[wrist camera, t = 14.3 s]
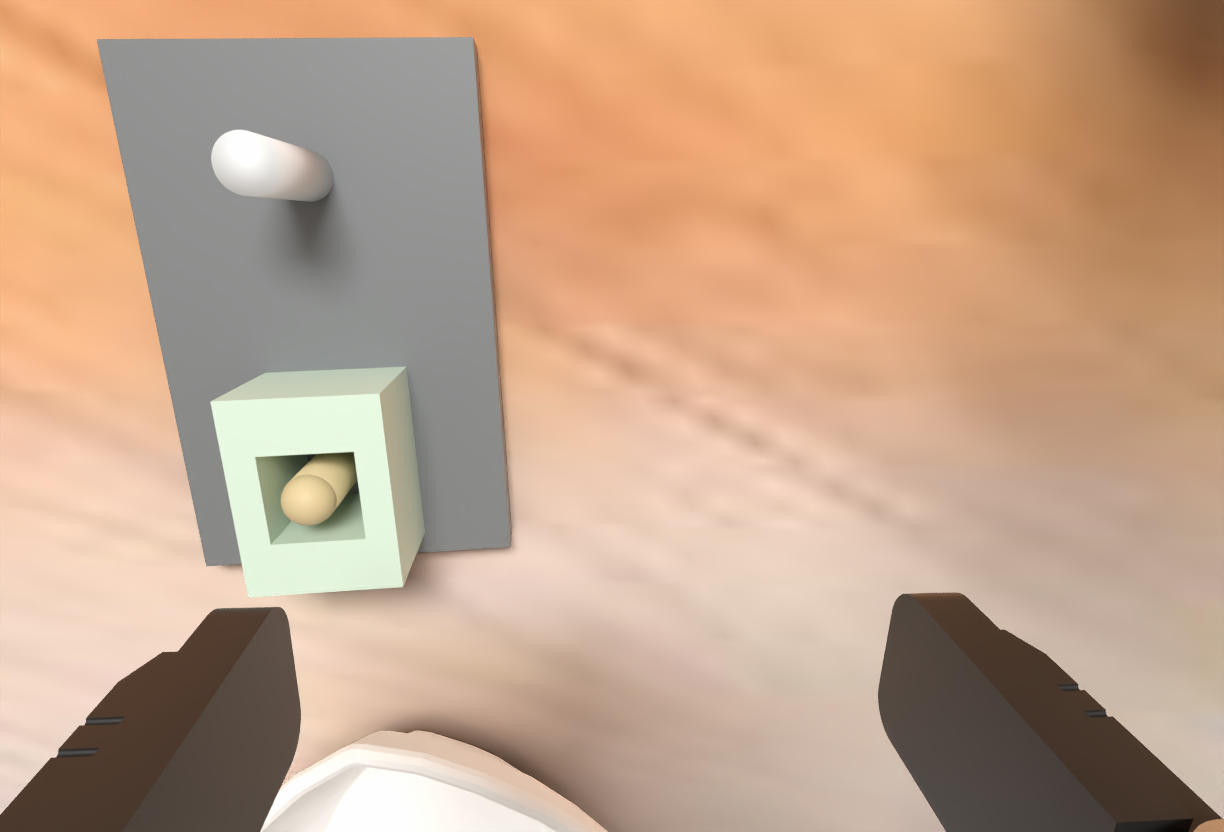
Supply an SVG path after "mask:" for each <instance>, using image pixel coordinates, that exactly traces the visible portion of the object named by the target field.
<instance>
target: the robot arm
mask: <svg viewBox="0 0 1224 832" xmlns="http://www.w3.org/2000/svg"><path fill="white" fill-rule="evenodd" d="M878 702H879V710H880V715H881V719H882V723H883V726H884V729H885V731H886V734H887V736H888V738H889V740H890V741H891V743H892V745H893V746H894V748H895V749H896V751H897V753H898V754H899V756H900V758H901V759H902V761H903V762H904V764H905V766H906V767H907V769H908V770H909V772H910V774H911V775H912V777H913V779H914V780H915V782H916V783H917V785H918V787H919V788H920V790H921V791H922V793H923V795H924V796H925V798H926V800H927V801H928V803H929V804H930V806H931V808H932V809H933V811H934V813H935V814H936V816H937V817H938V819H939V821H940V822H941V824H942V825H943V827H944V829H945V830H946V832H1224V819H1222V818H1221V817H1220V816H1219V815H1218V814H1217V813H1216V812H1215V811H1213V810H1212V809H1211V808H1210V807H1209V806H1208V805H1207V804H1206V803H1205V802H1204V801H1203V800H1202V799H1201V798H1200V797H1198V796H1197V795H1196V794H1195V793H1194V792H1193V791H1192V790H1191V789H1190V788H1189V787H1188V786H1187V785H1186V784H1185V783H1183V782H1182V781H1181V780H1180V779H1179V778H1178V777H1177V776H1176V775H1175V774H1174V773H1173V772H1172V771H1171V770H1170V769H1168V768H1167V767H1166V766H1165V765H1164V764H1163V763H1162V762H1161V761H1160V760H1159V759H1158V758H1157V757H1156V756H1155V755H1153V754H1152V753H1151V752H1150V751H1149V750H1148V749H1147V748H1146V747H1145V746H1144V745H1143V744H1142V743H1141V742H1139V741H1138V740H1137V739H1136V738H1135V737H1134V736H1133V735H1132V734H1131V733H1130V732H1129V731H1128V730H1127V729H1126V728H1124V727H1123V726H1122V725H1121V724H1120V723H1119V722H1118V721H1117V720H1116V719H1115V718H1114V717H1108V716H1107V715H1106V712H1105V711H1106V710H1105V709H1104V708H1103V707H1102V706H1101V705H1100V704H1099V703H1098V702H1097V701H1096V700H1094V699H1093V698H1092V697H1091V696H1090V695H1089V694H1088V693H1087V692H1086V691H1085V690H1079V688H1078V684H1077V683H1076V682H1075V681H1074V680H1073V679H1072V678H1071V677H1070V676H1069V675H1068V674H1067V673H1066V672H1064V671H1063V670H1062V669H1061V668H1060V667H1059V666H1058V665H1057V664H1056V663H1055V662H1054V661H1053V660H1052V659H1051V658H1049V657H1048V656H1047V655H1046V654H1045V653H1043V652H1041V651H1040V650H1038V649H1036V648H1035V647H1033V646H1031V645H1030V644H1028V643H1026V642H1024V641H1023V640H1021V639H1019V638H1018V637H1016V636H1014V635H1013V634H1011V633H1009V632H1008V631H1006V630H1000V629H999V628H998V627H997V626H996V625H995V624H994V623H993V622H992V621H991V620H990V619H989V618H988V617H987V616H985V615H984V614H983V613H982V612H981V611H980V610H979V609H978V608H977V607H976V606H975V605H974V604H973V603H972V602H971V601H970V600H969V599H968V598H967V597H966V596H964V595H962V594H960V593H918V594H902V595H900V596H899V597H898V598H897V600H896V601H895V603H894V606H893V610H892V615H891V621H890V626H889V632H888V638H887V643H886V649H885V655H884V660H883V666H882V671H881V677H880V683H879V690H878ZM300 722H301V709H300V700H299V693H298V686H297V679H296V671H295V664H294V657H293V650H292V643H291V635H290V628H289V622H288V618H287V615H286V613H285V611H284V610H283V609H282V608H280V607H264V608H222V609H215V610H213V611H212V612H210V613H209V614H208V615H207V617H206V618H205V619H204V620H203V621H202V623H201V624H200V625H199V626H198V628H197V629H196V630H195V631H194V633H193V634H192V635H191V636H190V637H189V639H188V640H187V641H186V642H185V644H184V645H183V646H182V647H181V648H180V650H179V651H178V652H162V653H161V654H159V655H158V656H156V657H155V658H153V659H152V660H150V661H149V662H147V663H146V664H144V665H143V666H141V667H140V668H139V669H137V670H136V671H134V672H133V673H131V674H130V675H128V676H127V677H125V678H124V679H122V680H121V681H119V682H118V683H117V684H116V685H115V686H114V687H113V689H112V690H111V691H110V692H109V693H108V694H107V695H106V696H105V698H104V699H103V700H102V701H101V702H100V703H99V704H98V705H97V707H96V708H95V709H94V710H93V711H92V712H91V713H90V714H89V716H88V717H87V718H86V723H85V725H84V726H79V727H78V728H77V729H76V730H75V731H74V732H73V734H72V735H71V736H70V737H69V738H68V739H67V740H66V742H65V743H64V744H63V745H62V746H61V747H60V748H59V749H58V755H57V757H56V758H50V760H49V761H48V762H47V763H46V764H45V765H44V766H43V767H42V769H41V770H40V771H39V772H38V773H37V774H36V775H35V776H34V778H33V779H32V780H31V781H30V782H29V783H28V784H27V785H26V787H25V788H24V789H23V790H22V791H21V792H20V793H19V794H18V796H17V797H16V798H15V799H14V800H13V801H12V802H11V804H10V805H9V806H8V807H7V808H6V809H5V810H4V811H3V813H2V814H1V815H0V832H260V831H261V829H262V827H263V824H264V822H265V820H266V818H267V816H268V814H269V811H270V809H271V807H272V805H273V803H274V800H275V798H276V796H277V794H278V792H279V789H280V787H281V785H282V783H283V781H284V779H285V776H286V774H287V772H288V770H289V768H290V765H291V763H292V761H293V758H294V755H295V752H296V748H297V744H298V739H299V732H300Z"/></svg>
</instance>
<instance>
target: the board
mask: <svg viewBox="0 0 1224 832" xmlns="http://www.w3.org/2000/svg"><path fill="white" fill-rule="evenodd" d="M97 43H98V48H99V53H100V57H101V62H102V67H103V72H104V77H105V81H106V86H107V91H108V96H109V101H110V105H111V110H112V115H113V120H114V125H115V129H116V134H117V139H118V144H119V149H120V153H121V158H122V163H123V168H124V173H125V177H126V182H127V187H128V192H129V197H130V201H131V206H132V211H133V216H134V221H135V225H136V230H137V235H138V240H139V245H140V250H141V254H142V259H143V264H144V269H145V274H146V278H147V283H148V288H149V293H150V298H151V302H152V307H153V312H154V317H155V322H156V326H157V331H158V336H159V341H160V346H161V350H162V355H163V360H164V365H165V370H166V374H167V379H168V384H169V389H170V394H171V398H172V403H173V408H174V413H175V418H176V423H177V427H178V432H179V437H180V442H181V447H182V451H183V456H184V461H185V466H186V471H187V475H188V480H189V485H190V490H191V495H192V499H193V504H194V509H195V514H196V519H197V523H198V528H199V533H200V538H201V543H202V547H203V552H204V557H205V562H206V566H217V565H233V564H242V562H241V557H240V552H239V547H238V542H237V536H236V531H235V526H234V521H233V516H232V511H231V506H230V500H229V495H228V490H227V485H226V480H225V475H224V469H223V464H222V459H221V454H220V449H219V444H218V438H217V433H216V428H215V423H214V418H213V413H212V407H211V402H210V401H212V400H214V399H216V398H218V397H220V396H222V395H224V394H226V393H228V392H229V391H231V390H233V389H235V388H237V387H239V386H241V385H243V384H245V383H247V382H249V381H250V380H252V379H254V378H256V377H258V376H260V375H262V374H264V373H271V372H294V371H317V370H340V369H363V368H386V367H407V376H408V385H409V394H410V403H411V412H412V421H413V430H414V439H415V448H416V457H417V466H418V475H419V484H420V493H421V502H422V511H423V520H424V529H425V534H424V537H423V539H422V542H421V544H420V547H419V549H418V551H417V553H424V552H440V551H456V550H472V549H487V548H503V547H510V543H511V535H512V531H511V517H510V503H509V489H508V475H507V461H506V447H505V433H504V420H503V406H502V392H501V378H500V364H499V350H498V336H497V322H496V308H495V294H494V280H493V266H492V252H491V238H490V224H489V210H488V196H487V183H486V169H485V155H484V141H483V127H482V113H481V99H480V85H479V71H478V57H477V46H476V44H475V41H474V39H473V37H451V38H264V39H97ZM307 458H308V463H307V464H306V465H305V466H304V467H303V468H302V469H301V470H300V471H299V472H298V473H297V474H296V475H295V476H294V477H293V478H292V479H291V480H290V481H289V482H288V483H287V484H286V486H285V487H284V489H283V491H282V494H281V507H282V510H283V512H284V514H285V515H286V516H287V517H288V518H289V519H290V520H291V521H293V522H295V523H297V524H300V525H306V526H310V525H316V524H319V523H321V522H323V521H325V520H326V519H328V518H329V517H330V516H331V515H332V513H333V512H334V511H335V509H336V508H337V507H338V505H339V504H340V503H341V501H342V500H343V499H344V497H345V496H346V495H347V494H350V493H359V486H358V479H357V472H356V464H355V457H354V452H341V453H322V454H307Z"/></svg>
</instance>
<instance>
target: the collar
mask: <svg viewBox="0 0 1224 832" xmlns="http://www.w3.org/2000/svg"><path fill="white" fill-rule="evenodd" d="M210 402H211V407H212V413H213V418H214V423H215V428H216V433H217V438H218V444H219V449H220V454H221V459H222V464H223V469H224V475H225V480H226V485H227V490H228V495H229V500H230V506H231V511H232V516H233V521H234V526H235V531H236V536H237V542H238V547H239V552H240V557H241V562H242V567H243V573H244V578H245V583H246V588H247V593H248V597H263V596H278V595H292V594H307V593H322V592H337V591H351V590H366V589H381V588H396V587H403V586H404V584H405V581H406V579H407V576H408V574H409V571H410V569H411V566H412V564H413V561H414V559H415V556H416V554H417V551H418V549H419V547H420V544H421V542H422V539H423V537H424V534H425V529H424V520H423V511H422V502H421V493H420V484H419V475H418V466H417V457H416V448H415V439H414V430H413V421H412V412H411V403H410V394H409V385H408V376H407V367H386V368H363V369H340V370H317V371H294V372H271V373H264V374H262V375H260V376H258V377H256V378H254V379H252V380H250V381H249V382H247V383H245V384H243V385H241V386H239V387H237V388H235V389H233V390H231V391H229V392H228V393H226V394H224V395H222V396H220V397H218V398H216V399H214V400H212V401H210ZM341 452H354V457H355V464H356V472H357V479H358V486H359V493H350V494H347V495H346V496H345V497H344V499H343V500H342V501H341V503H340V504H339V505H338V507H337V508H336V509H335V511H334V512H333V513H332V515H331V516H330V517H329V518H328V519H326V520H325V521H323V522H321V523H319V524H316V525H310V526H306V525H300V524H297V523H295V522H293V521H291V520H290V519H289V518H288V517H287V516H286V515H285V514H284V512H283V510H282V507H281V494H282V491H283V489H284V487H285V486H286V484H287V483H288V482H289V481H290V480H291V479H292V478H293V477H294V476H295V475H296V474H297V473H298V472H299V471H300V470H301V469H302V468H303V467H304V466H305V465H306V464H307V463H308V458H307V454H322V453H341Z"/></svg>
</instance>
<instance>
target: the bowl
mask: <svg viewBox="0 0 1224 832" xmlns="http://www.w3.org/2000/svg"><path fill="white" fill-rule="evenodd" d="M260 832H608V831H607V830H605V829H604V828H603V827H602V826H600V825H599V824H598V823H597V822H596V821H594V820H593V819H592V818H591V817H590V816H588V815H587V814H586V813H585V812H583V811H582V810H581V809H580V808H579V807H577V806H576V805H575V804H573V803H572V802H570V801H569V800H567V799H566V798H564V797H562V796H561V795H559V794H558V793H556V792H555V791H553V790H552V789H550V788H548V787H547V786H545V785H544V784H542V783H541V782H539V781H537V780H536V779H534V778H533V777H531V776H529V775H527V774H524V773H522V772H521V771H519V770H518V769H516V768H515V767H513V766H511V765H510V764H508V763H507V762H505V761H504V760H502V759H501V758H499V757H497V756H495V755H493V754H491V753H488V752H486V751H484V750H482V749H479V748H477V747H475V746H473V745H470V744H466V743H463V742H460V741H457V740H454V739H451V738H448V737H445V736H442V735H439V734H435V733H432V732H426V731H413V732H410V733H401V732H395V731H378V732H375V733H372V734H369V735H367V736H365V737H363V738H361V739H359V740H357V741H355V742H353V743H351V744H349V745H347V746H345V747H343V748H342V749H340V750H338V751H336V752H335V753H333V754H331V755H329V756H328V757H326V758H324V759H322V760H321V761H319V762H317V763H315V764H314V765H312V766H310V767H308V768H307V769H305V770H303V771H301V772H300V773H298V774H296V775H294V776H293V777H292V778H290V779H289V780H288V781H287V782H286V783H285V784H284V785H283V786H282V787H280V789H279V792H278V794H277V796H276V798H275V800H274V803H273V805H272V807H271V809H270V811H269V814H268V816H267V818H266V820H265V822H264V824H263V827H262V829H261V831H260Z"/></svg>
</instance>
